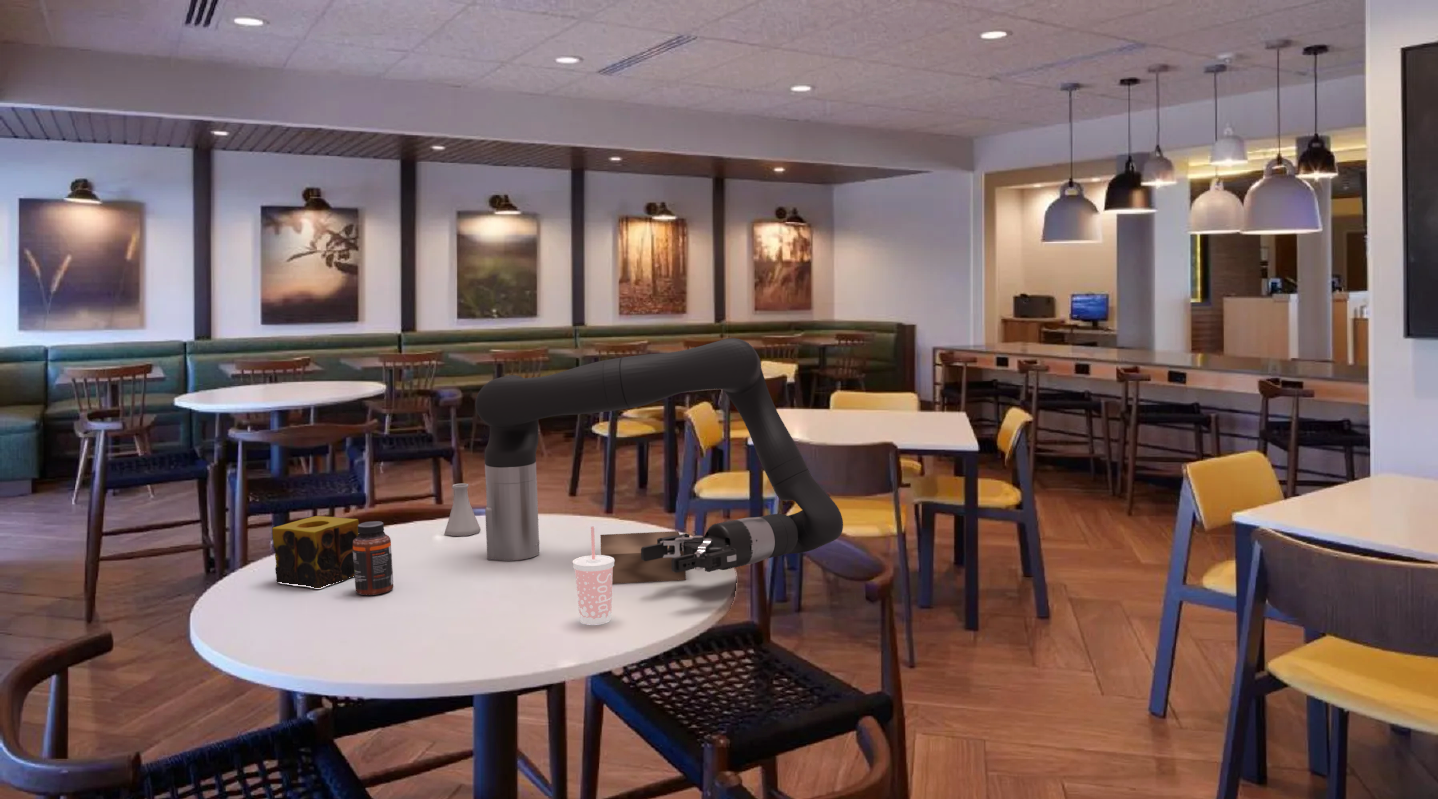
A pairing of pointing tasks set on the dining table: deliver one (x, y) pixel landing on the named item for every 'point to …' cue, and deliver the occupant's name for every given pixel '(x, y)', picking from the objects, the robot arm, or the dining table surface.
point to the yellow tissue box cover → (315, 550)
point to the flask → (461, 514)
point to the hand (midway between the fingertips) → (657, 559)
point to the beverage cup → (594, 586)
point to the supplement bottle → (372, 559)
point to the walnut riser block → (638, 558)
